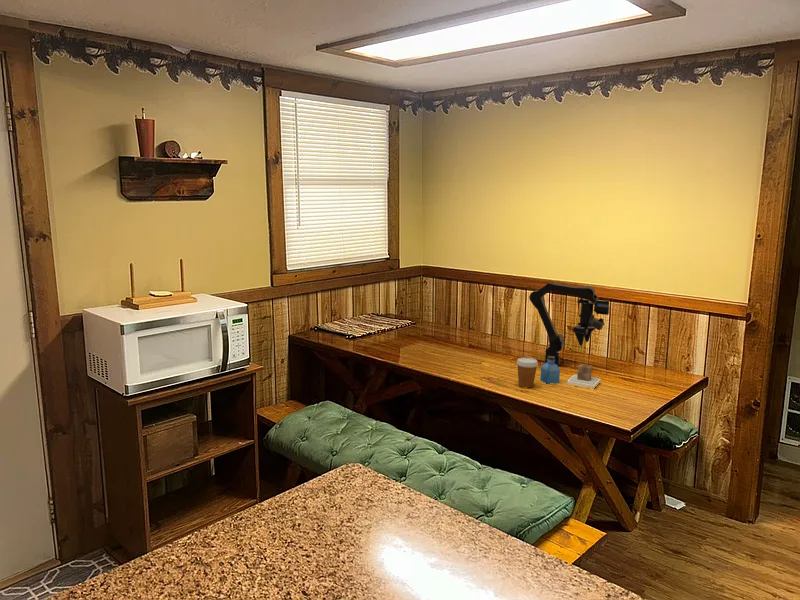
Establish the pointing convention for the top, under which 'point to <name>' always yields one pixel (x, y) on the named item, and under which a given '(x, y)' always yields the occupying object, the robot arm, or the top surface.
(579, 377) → the block
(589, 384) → the base
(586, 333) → the robot arm
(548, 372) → the perfume bottle
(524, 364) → the disposable coffee cup
